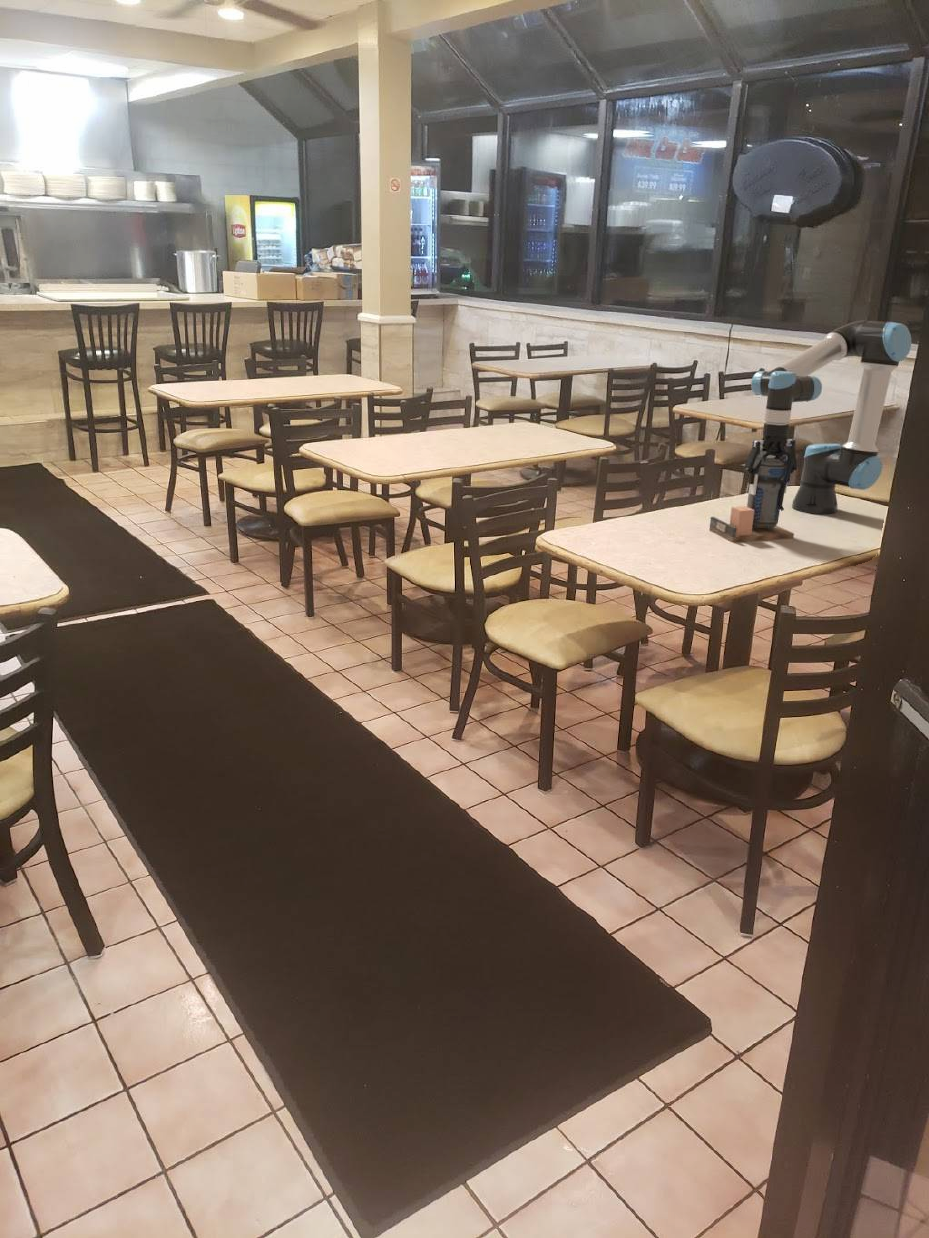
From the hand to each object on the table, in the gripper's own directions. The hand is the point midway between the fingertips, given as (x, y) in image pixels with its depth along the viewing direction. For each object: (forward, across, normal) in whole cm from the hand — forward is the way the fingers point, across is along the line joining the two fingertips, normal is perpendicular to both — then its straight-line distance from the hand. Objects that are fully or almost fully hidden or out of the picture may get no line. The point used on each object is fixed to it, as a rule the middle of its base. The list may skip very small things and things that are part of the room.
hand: (767, 493), depth 302 cm
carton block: (+12, +10, +3) cm, 16 cm away
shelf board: (+13, +4, 0) cm, 14 cm away
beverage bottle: (+11, 0, 0) cm, 11 cm away
